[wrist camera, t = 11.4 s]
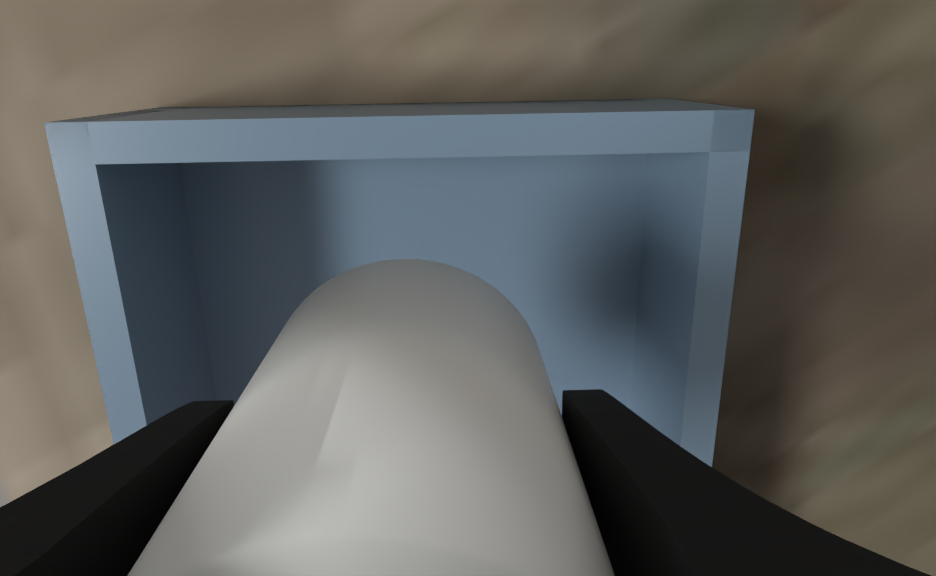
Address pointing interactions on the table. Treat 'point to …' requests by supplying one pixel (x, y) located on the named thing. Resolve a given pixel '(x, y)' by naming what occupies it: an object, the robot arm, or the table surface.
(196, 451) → the robot arm
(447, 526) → the white egg shape
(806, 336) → the table surface
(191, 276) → the tote
